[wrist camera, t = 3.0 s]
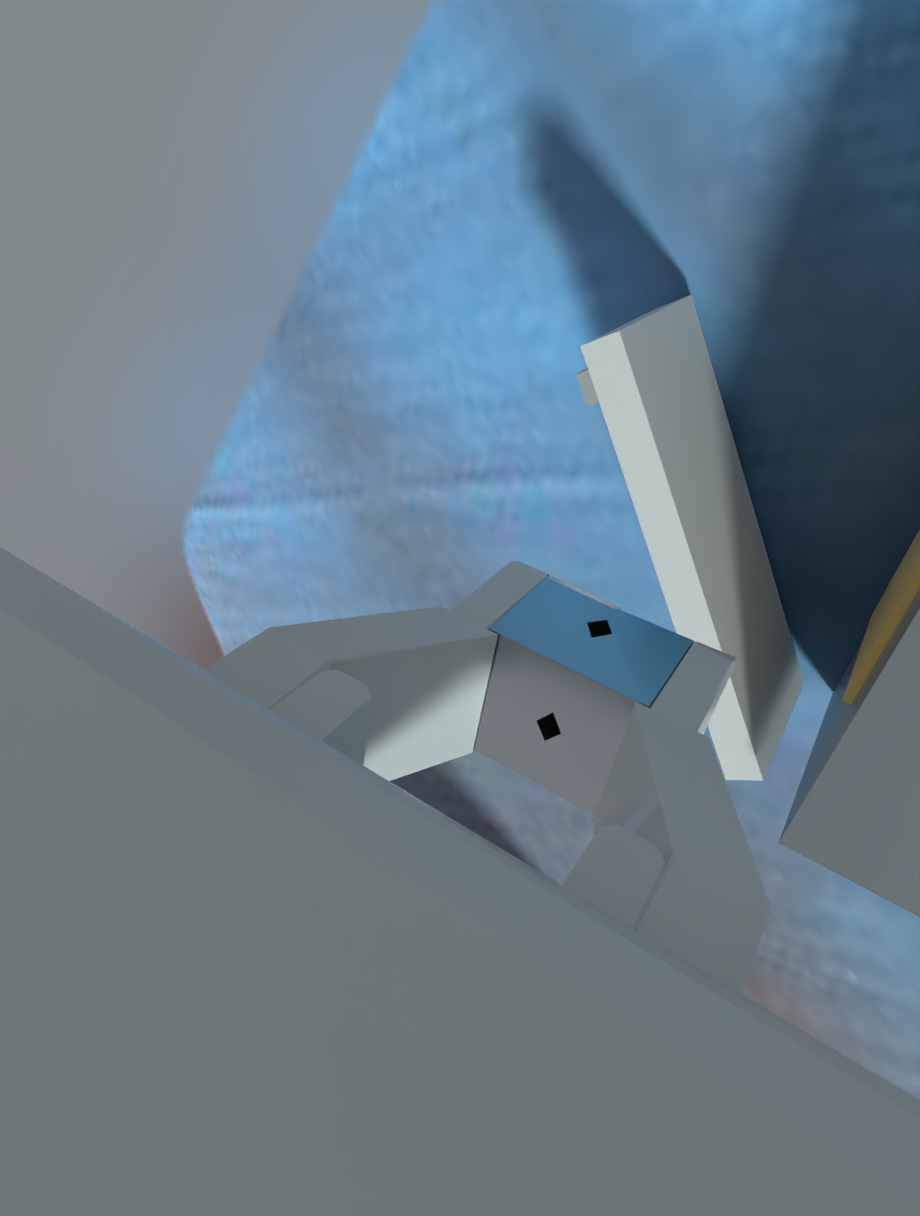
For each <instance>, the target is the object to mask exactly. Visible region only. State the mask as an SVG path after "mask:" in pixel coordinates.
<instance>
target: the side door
mask: <svg viewBox="0 0 920 1216" xmlns="http://www.w3.org/2000/svg"><path fill="white" fill-rule="evenodd" d="M581 349H582V352H583V355H584V358H585V361H586V364H587V367H588V368H586V369H585V370H583V371H581V372H579V373H577V374H576V376H577V379H578V382H579V385H580V388H581V391H582V394H583V397H584V400H585V403H586V406H589V405H592V404H595V403H598V402H599V403H600V406H601V409H602V412H603V415H604V418H605V421H606V424H607V427H608V430H609V433H610V436H611V439H612V442H613V445H614V448H615V451H616V454H617V457H618V460H619V463H620V466H621V469H622V471H623V474H624V477H625V480H626V483H627V486H628V489H629V492H630V495H631V498H632V501H633V504H634V507H635V510H636V513H637V516H638V519H639V522H640V525H641V528H642V531H643V534H644V537H645V540H646V543H647V546H648V549H649V552H650V555H651V558H652V561H653V564H654V567H655V570H656V573H657V576H658V579H659V582H660V585H661V588H662V591H663V594H664V597H665V600H666V603H667V606H668V609H669V611H670V614H671V617H672V620H673V623H674V626H675V629H676V632H677V634H679V635H682V636H684V637H687V638H689V639H691V640H694V642H699V643H702V644H704V645H707V646H709V647H712V648H714V649H717V650H719V651H722V652H724V653H727V654H729V655H732V656H734V657H736V663H735V665H734V668H733V670H732V673H731V675H730V677H729V679H728V682H727V684H726V686H725V688H724V690H723V693H722V695H721V697H720V699H719V701H718V703H717V706H716V708H715V710H714V712H713V714H712V717H711V719H710V721H709V723H708V728H709V731H710V734H711V737H712V740H713V743H714V746H715V748H716V751H717V754H718V757H719V760H720V763H721V766H722V769H723V772H724V775H725V778H726V780H762V781H763V780H764V777H765V775H766V773H767V770H768V768H769V766H770V763H771V761H772V758H773V756H774V754H775V751H776V749H777V746H778V744H779V742H780V739H781V737H782V735H783V732H784V730H785V727H786V725H787V723H788V720H789V718H790V715H791V713H792V711H793V708H794V706H795V703H796V701H797V699H798V696H799V694H800V692H801V689H802V687H803V684H804V680H803V676H802V673H801V670H800V666H799V663H798V659H797V656H796V652H795V649H794V645H793V642H792V639H791V635H790V632H789V628H788V625H787V621H786V618H785V614H784V611H783V608H782V604H781V601H780V597H779V594H778V590H777V587H776V583H775V580H774V577H773V573H772V570H771V566H770V563H769V559H768V556H767V552H766V549H765V546H764V542H763V539H762V535H761V532H760V528H759V525H758V522H757V518H756V515H755V511H754V508H753V504H752V501H751V497H750V494H749V491H748V487H747V484H746V480H745V477H744V473H743V470H742V466H741V463H740V460H739V456H738V453H737V449H736V446H735V442H734V439H733V435H732V432H731V429H730V425H729V422H728V418H727V415H726V411H725V408H724V405H723V401H722V398H721V394H720V391H719V387H718V384H717V380H716V377H715V374H714V370H713V367H712V363H711V360H710V356H709V353H708V349H707V346H706V343H705V339H704V336H703V332H702V329H701V325H700V322H699V318H698V315H697V312H696V308H695V305H694V301H693V298H692V295H689V296H686V297H684V298H681V299H679V300H676V301H674V302H671V303H669V304H666V305H664V306H661V307H658V308H656V309H654V310H652V311H650V312H648V313H646V314H644V315H642V316H640V317H638V318H636V319H634V320H632V321H630V322H628V323H626V324H624V325H622V326H620V327H618V328H616V329H614V330H612V331H609V332H607V333H605V334H603V335H601V336H599V337H597V338H595V339H593V340H591V341H589V342H587V343H585V344H583V345H581Z"/></svg>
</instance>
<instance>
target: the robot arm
mask: <svg viewBox="0 0 920 1216" xmlns="http://www.w3.org/2000/svg"><path fill="white" fill-rule="evenodd" d="M735 663H736V657H734V656H732V655H729V654H727V653H724V652H722V651H719V650H717V649H714V648H712V647H709V646H707V645H704V644H702V643H699V642H694V640H691V639H689V638H687V637H684V636H682V635H679V634H677V633H675V632H672V631H670V630H667V629H665V628H663V627H660V626H658V625H655V624H653V623H651V622H648V621H646V620H643V619H641V618H639V617H636V616H634V615H632V614H629V613H627V612H624V611H622V610H621V608H618V607H616V606H614V605H612V604H610V603H608V602H606V601H604V600H601V599H599V598H597V597H595V596H593V595H591V594H589V593H587V592H584V591H582V590H580V589H578V588H576V587H574V586H572V585H570V584H567V583H565V582H563V581H561V580H559V579H557V578H555V577H553V576H552V577H550V576H549V574H547V573H544V572H542V571H540V570H538V569H535V568H533V567H531V566H528V565H526V564H524V563H521V562H519V561H512V562H510V563H508V564H507V565H506V566H505V567H503V568H502V569H501V570H500V571H498V572H497V573H496V574H495V575H494V576H492V577H491V578H490V579H489V580H487V581H486V582H485V583H484V584H482V585H481V586H480V587H479V588H478V589H476V590H475V591H474V592H473V593H471V594H470V595H469V596H468V597H466V598H465V599H464V600H463V601H461V602H460V603H459V604H458V605H457V606H455V607H454V608H453V609H452V610H450V611H449V610H447V609H445V608H443V607H441V606H439V607H431V608H423V609H415V610H407V611H399V612H391V613H383V614H375V615H367V616H359V617H351V618H343V619H335V620H327V621H319V622H311V623H303V624H295V625H287V626H279V627H271V628H268V629H266V630H265V631H263V632H262V633H260V634H259V635H257V636H256V637H254V638H252V639H251V640H249V641H248V642H246V643H245V644H243V645H241V646H240V647H238V648H237V649H235V650H234V651H232V652H231V653H229V654H227V655H226V656H224V657H223V658H221V659H220V660H218V661H217V662H215V663H213V664H212V665H210V666H209V667H207V668H206V669H202V668H200V667H199V666H197V665H195V664H194V663H192V662H190V661H188V660H187V659H185V658H184V657H182V656H180V655H179V654H177V653H175V652H174V651H172V650H170V649H169V648H167V647H165V646H164V645H162V644H160V643H159V642H157V641H155V640H154V639H152V638H151V637H149V636H147V635H145V634H144V633H142V632H140V631H139V630H137V629H136V628H134V627H132V626H130V625H129V624H127V623H126V622H124V621H122V620H121V619H119V618H117V617H116V616H114V615H112V614H111V613H109V612H107V611H106V610H104V609H102V608H101V607H99V606H97V605H96V604H94V603H92V602H91V601H89V600H87V599H86V598H84V597H82V596H81V595H79V594H77V593H76V592H74V591H72V590H71V589H69V588H67V587H66V586H64V585H63V584H61V583H59V582H58V581H56V580H54V579H53V578H51V577H49V576H48V575H46V574H44V573H43V572H41V571H39V570H38V569H36V568H34V567H33V566H31V565H29V564H28V563H26V562H24V561H23V560H21V559H19V558H18V557H16V556H15V555H13V554H11V553H10V552H8V551H6V550H4V549H3V548H1V547H0V1216H920V1100H918V1099H916V1098H915V1097H913V1096H911V1095H910V1094H908V1093H906V1092H905V1091H903V1090H901V1089H900V1088H898V1087H896V1086H895V1085H893V1084H891V1083H890V1082H888V1081H886V1080H885V1079H883V1078H881V1077H880V1076H878V1075H876V1074H875V1073H873V1072H871V1071H870V1070H868V1069H866V1068H865V1067H863V1066H861V1065H859V1064H858V1063H856V1062H854V1061H853V1060H851V1059H849V1058H848V1057H846V1056H844V1055H843V1054H841V1053H839V1052H838V1051H836V1050H834V1049H833V1048H831V1047H829V1046H828V1045H826V1044H824V1043H823V1042H821V1041H819V1040H818V1039H816V1038H814V1037H813V1036H811V1035H809V1034H808V1033H806V1032H804V1031H803V1030H801V1029H799V1028H798V1027H796V1026H794V1025H793V1024H791V1023H790V1022H788V1021H786V1020H785V1019H783V1018H781V1017H780V1016H778V1015H776V1014H775V1013H773V1012H771V1011H770V1010H768V1009H766V1008H765V1007H763V1006H761V1005H760V1004H758V1003H756V1002H755V1001H753V1000H751V999H750V998H748V997H746V996H745V995H743V994H742V992H743V989H744V986H745V983H746V980H747V977H748V974H749V971H750V968H751V965H752V962H753V959H754V956H755V953H756V950H757V947H758V944H759V941H760V938H761V935H762V932H763V929H764V926H765V923H766V920H767V917H768V914H769V911H770V908H771V906H770V903H769V900H768V898H767V895H766V892H765V890H764V887H763V884H762V882H761V879H760V876H759V873H758V871H757V868H756V865H755V863H754V860H753V857H752V854H751V852H750V849H749V846H748V844H747V841H746V838H745V835H744V833H743V830H742V827H741V825H740V822H739V819H738V816H737V814H736V811H735V808H734V806H733V803H732V800H731V797H730V795H729V792H728V789H727V787H726V784H725V781H724V778H723V776H722V773H721V770H720V768H719V765H718V762H717V759H716V757H715V754H714V751H713V749H712V746H711V743H710V740H709V738H708V737H707V736H705V735H703V734H704V732H705V730H706V728H707V725H708V723H709V721H710V719H711V717H712V714H713V712H714V710H715V708H716V706H717V703H718V701H719V699H720V697H721V695H722V693H723V690H724V688H725V686H726V684H727V682H728V679H729V677H730V675H731V673H732V670H733V668H734V665H735ZM473 749H474V750H476V751H478V752H480V753H482V754H484V755H486V756H488V757H490V758H492V759H493V760H495V761H497V762H499V763H501V764H503V765H505V766H507V767H509V768H511V769H513V770H514V771H516V772H518V773H520V774H522V775H524V776H526V777H528V778H530V779H532V780H534V781H535V782H537V783H539V784H540V785H542V786H544V787H545V788H547V789H549V790H550V791H552V792H554V793H555V794H557V795H559V796H561V797H562V798H564V799H566V800H567V801H569V802H571V803H572V804H574V805H576V806H578V807H579V808H581V809H583V810H584V811H586V812H588V813H589V814H591V815H593V816H594V818H593V825H594V835H595V836H594V838H593V839H592V841H591V842H590V844H589V845H588V847H587V848H586V850H585V851H584V853H583V855H582V856H581V858H580V859H579V861H578V862H577V864H576V865H575V867H574V868H573V870H572V871H571V873H570V875H569V876H568V878H567V879H566V881H565V882H564V884H563V885H561V884H559V883H558V882H556V881H554V880H553V879H551V878H549V877H548V876H546V875H544V874H543V873H541V872H539V871H538V870H536V869H535V868H533V867H531V866H530V865H528V864H526V863H525V862H523V861H521V860H520V859H518V858H516V857H515V856H513V855H511V854H510V853H508V852H506V851H505V850H503V849H501V848H500V847H498V846H496V845H495V844H493V843H491V842H490V841H488V840H486V839H485V838H483V837H481V836H480V835H478V834H476V833H475V832H473V831H471V830H470V829H468V828H466V827H465V826H463V825H461V824H460V823H458V822H456V821H455V820H453V819H451V818H450V817H448V816H446V815H445V814H443V813H441V812H440V811H438V810H436V809H435V808H433V807H431V806H430V805H428V804H426V803H425V802H423V801H421V800H420V799H418V798H416V797H415V796H413V795H411V794H410V793H408V792H406V791H405V790H403V789H401V788H400V787H398V786H396V785H395V784H393V783H391V782H390V781H391V780H394V779H397V778H400V777H403V776H406V775H409V774H412V773H414V772H417V771H420V770H423V769H426V768H429V767H432V766H435V765H438V764H440V763H443V762H446V761H449V760H452V759H455V758H458V757H461V756H464V755H466V754H469V753H472V751H473Z"/></svg>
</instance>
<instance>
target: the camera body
mask: <svg viewBox="0 0 920 1216" xmlns="http://www.w3.org/2000/svg"><path fill="white" fill-rule="evenodd" d="M779 843H780V844H782V845H784V846H786V847H788V848H790V849H792V850H794V851H795V852H797V853H799V854H801V855H803V856H805V857H807V858H809V859H811V860H813V861H814V862H816V863H818V864H820V865H822V866H824V867H826V868H828V869H830V870H832V871H833V872H835V873H837V874H839V875H841V876H843V877H845V878H847V879H849V880H851V881H853V882H854V883H856V884H858V885H860V886H862V887H864V888H866V889H868V890H870V891H872V892H873V893H875V894H877V895H879V896H881V897H883V898H885V899H887V900H889V901H891V902H892V903H894V904H896V905H898V906H900V907H902V908H904V909H906V910H908V911H910V912H911V913H913V914H915V915H917V916H919V917H920V529H919V531H918V533H917V535H916V536H915V538H914V540H913V542H912V544H911V545H910V547H909V549H908V551H907V553H906V554H905V556H904V558H903V560H902V562H901V563H900V565H899V567H898V569H897V570H896V572H895V574H894V576H893V578H892V579H891V581H890V583H889V585H888V587H887V588H886V590H885V592H884V594H883V595H882V597H881V599H880V601H879V603H878V604H877V606H876V608H875V610H874V612H873V613H872V615H871V618H870V621H869V624H868V627H867V629H866V632H865V635H864V638H863V641H862V642H861V644H860V646H859V648H858V649H857V651H856V653H855V655H854V656H853V658H852V660H851V662H850V664H849V665H848V667H847V669H846V671H845V672H844V674H843V676H842V678H841V680H840V681H839V683H838V685H837V687H836V688H835V690H834V692H833V694H832V697H831V700H830V702H829V705H828V708H827V711H826V713H825V716H824V719H823V722H822V724H821V727H820V730H819V733H818V736H817V738H816V741H815V744H814V747H813V749H812V752H811V755H810V758H809V760H808V763H807V766H806V769H805V771H804V774H803V777H802V780H801V783H800V785H799V788H798V791H797V794H796V796H795V799H794V802H793V805H792V807H791V810H790V813H789V816H788V819H787V821H786V824H785V827H784V830H783V832H782V835H781V838H780V841H779Z"/></svg>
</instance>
